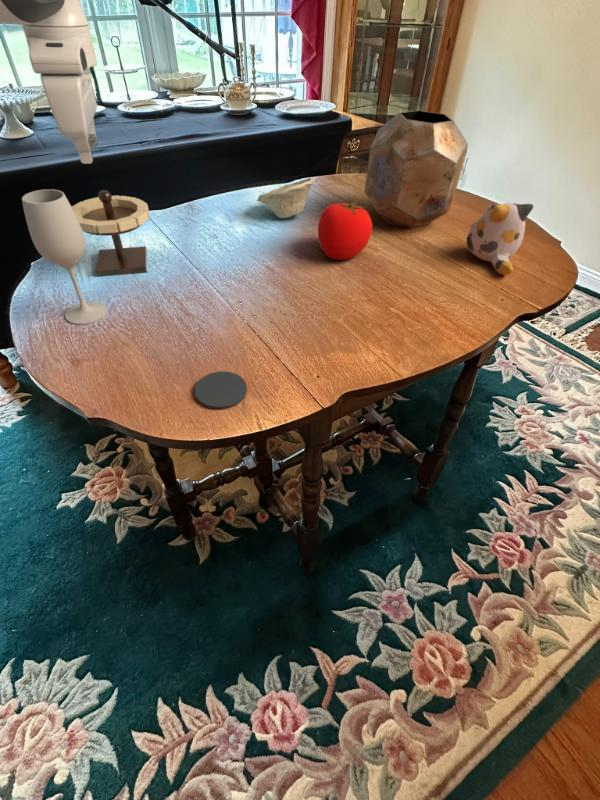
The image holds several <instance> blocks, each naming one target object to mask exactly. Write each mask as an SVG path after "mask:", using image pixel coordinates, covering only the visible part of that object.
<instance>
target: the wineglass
mask: <svg viewBox="0 0 600 800" xmlns="http://www.w3.org/2000/svg"><path fill="white" fill-rule="evenodd" d="M21 202H22V208H23V212H24V217H25V220H26V225H27V229H28V232H29V236H30V238H31V241H32V243H33V246H34V247H35V249H36V251H37V252H38V253H39V255H41V257H43V258H44V259H45V260H46V261H48V262H50V263H51V264H54V265H56V266H58V267H61V268H63V269H65V270H66V271H67V272H68V274H69V276H70V279H71V282H72V284H73V287H74V289H75V292H76V295H77V298H78V300H79V303H78V304H75V305H73V306H71V307H70V308H69V309H67V310H66V312H65V316H64V317H65V319H66V321H67V322H68V323H70V324H73V325H80V326H83V325H89V324H93V323H96V322H98V321H100V320H102V319H103V318H104V317H105V316H106V314H107V312H108V309H107V307H106V305H104V304H103V303H102V302H97V301H85V300H84V299H85V298H84V297H83V294H82V292H81V288H80V285H79V283H78V281H77V277H76V275H75V271H74V269H75V266H76V265H77V264H78V263H79V261H80V260H81V259H82V258H83V255H84V253H85V250H86V238H85V234H84V231H82V229H81V226H80V224H79V222H78V220H77V217H76V215H75V213H74V211H73V209H72V205H71V204H70V202H69V200H68V198H67V195H66V194H65V193H64V192H63V191H61V190H60V189H59V190H58V189H51V188H50V189H48V188H47V189H38V190H34V191H31V192H27V193H25V194H24V195H22V196H21Z"/></svg>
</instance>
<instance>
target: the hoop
mask: <svg viewBox="0 0 600 800" xmlns="http://www.w3.org/2000/svg"><path fill="white" fill-rule="evenodd" d="M111 196H112V200H111V204H112V207H125V208H131V209H133V210H135V211H136V212H135V213H133V214H132V215H130V216H128V217H125V218H121V219H117V220H110V221H95V220H89V219H85V218H83V217H82V216H84V215H85V214H87V213H88V212H90V211H93V210H96V209H100V208H104V207H103V203H102V202H101V201H100V199H99V196H97V197H92V198H88V199H85V200H83V201H79V202H77V203H76V204H74V205H71V207H72V209H73V211H74V213H75V215H76V217H77V220H78V222H79V224H80V226H81V229H82V231H83V233H86V232H90V233H98V232H99V234H100V233H115V232H118V230H119V231H120V232H122V231H126V230H129V229H132V228H136V227H137V226H140V225H141V226H143V224H144V223H146V222H147V221H149V219H150V210H149V205H148V203H147V202H146V201H144V200H142V199H140V198H137V197H133V196H126V195H111ZM141 226H140V227H141Z"/></svg>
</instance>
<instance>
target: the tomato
mask: <svg viewBox="0 0 600 800" xmlns="http://www.w3.org/2000/svg"><path fill="white" fill-rule="evenodd" d="M356 203H357V201H354V202H352V203H343V202H342V203H341V202H340V203H332V204H330V205H328V206H326V207H325V208H324V209H323V211H322V213H321V214H320V217H319V219H318V223H317V237H318V241H319V245H320V249H321V250H322V252H323V253H324V254H325V256H327V257H328V258H330V259H332V260H335V261H345V260H350V259H352V258H355V257H356V256H358V255H359V254H360V253H361V252H362V251H364V249H365V248H366V246H367V245H368V243H369V241H370V239H371V236H372V231H373V222H372V219H371V217H370V214H369V213H368V210H366V209H364V206H362V205H357V204H356Z"/></svg>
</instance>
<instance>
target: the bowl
mask: <svg viewBox="0 0 600 800" xmlns="http://www.w3.org/2000/svg"><path fill="white" fill-rule="evenodd" d="M314 183H315V181H314V179H312V178H310V177H309V178H305V179H302V180H299V181H296V182H293V183H290V184H285V185H283V186H280V187H279V188H275V189H272V190H270V191H268V192H266V193H262V194H260V195H258V197H257V199H256V201H257V202H259V203H261V204H263V205H264V206H266V207H268V208H269V209H270V210H271V211H272V213H274V215H275V216H276V217H277V218H278V219H287V218H291V217H294V216H295V215H298V214H300V213H302V212H303V210H304V208H305V207H304V206H305V204H306V201H307V199H308V196H309V192H310V190H311V187H312V185H313V184H314Z"/></svg>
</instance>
